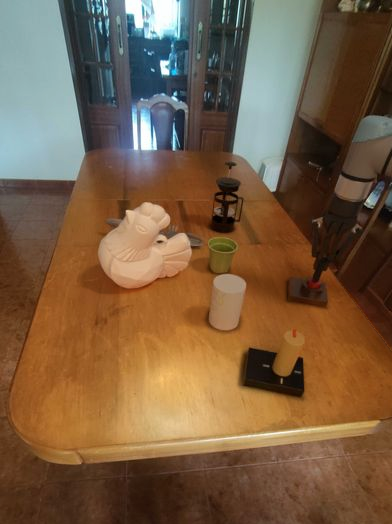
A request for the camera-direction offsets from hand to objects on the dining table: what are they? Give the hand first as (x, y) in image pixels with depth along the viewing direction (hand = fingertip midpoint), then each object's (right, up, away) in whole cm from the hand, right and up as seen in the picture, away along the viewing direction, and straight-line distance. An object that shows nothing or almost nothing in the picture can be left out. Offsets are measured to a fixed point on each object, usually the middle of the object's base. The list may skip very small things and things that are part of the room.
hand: (315, 279), depth 93 cm
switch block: (-1, -4, +4) cm, 6 cm away
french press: (-24, +27, +32) cm, 48 cm away
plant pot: (-27, +6, +11) cm, 30 cm away
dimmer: (-17, -27, -19) cm, 37 cm away
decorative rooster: (-50, 0, +3) cm, 50 cm away
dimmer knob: (-16, -25, -21) cm, 36 cm away
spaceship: (-50, +17, +20) cm, 57 cm away
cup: (-28, -13, -7) cm, 31 cm away
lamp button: (0, -2, +2) cm, 2 cm away
